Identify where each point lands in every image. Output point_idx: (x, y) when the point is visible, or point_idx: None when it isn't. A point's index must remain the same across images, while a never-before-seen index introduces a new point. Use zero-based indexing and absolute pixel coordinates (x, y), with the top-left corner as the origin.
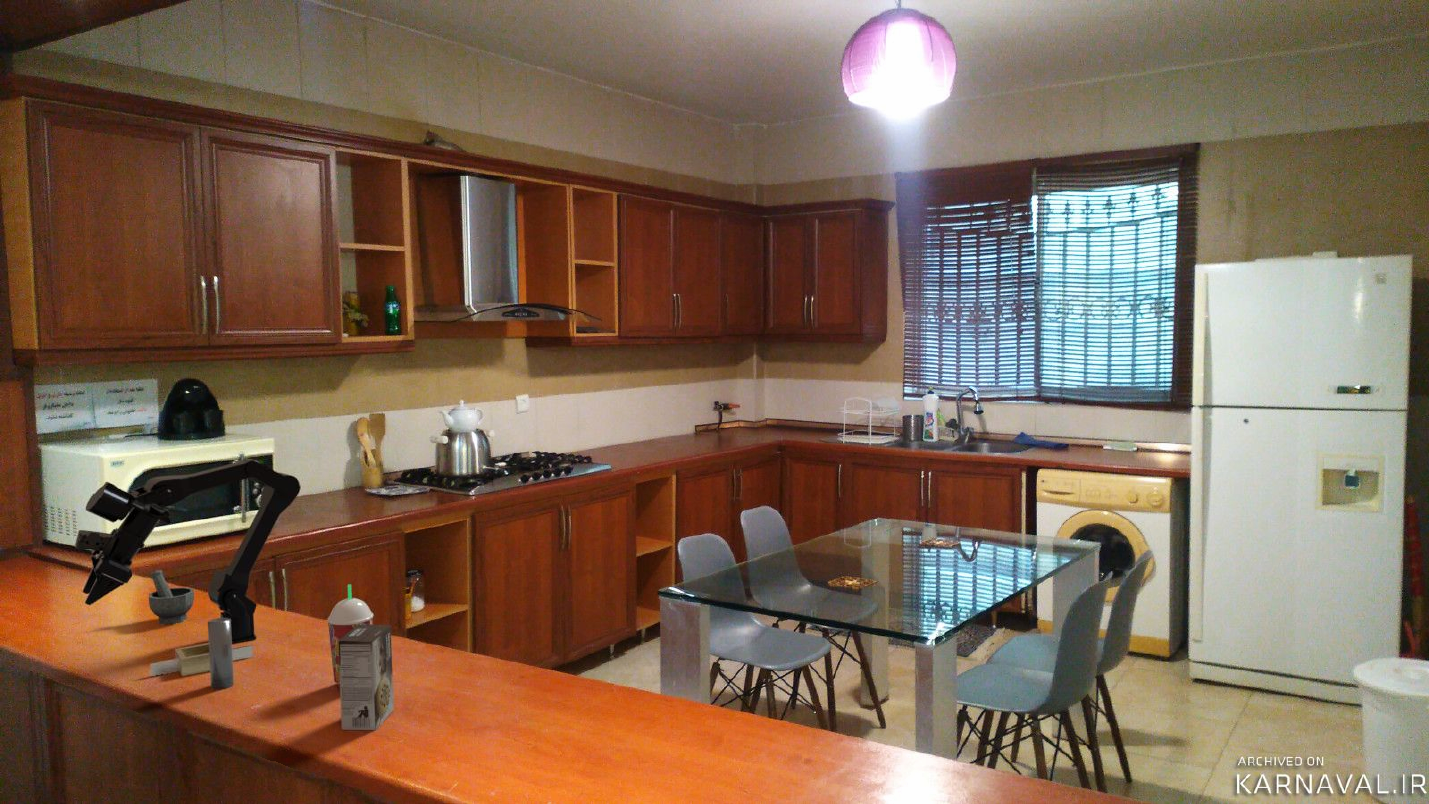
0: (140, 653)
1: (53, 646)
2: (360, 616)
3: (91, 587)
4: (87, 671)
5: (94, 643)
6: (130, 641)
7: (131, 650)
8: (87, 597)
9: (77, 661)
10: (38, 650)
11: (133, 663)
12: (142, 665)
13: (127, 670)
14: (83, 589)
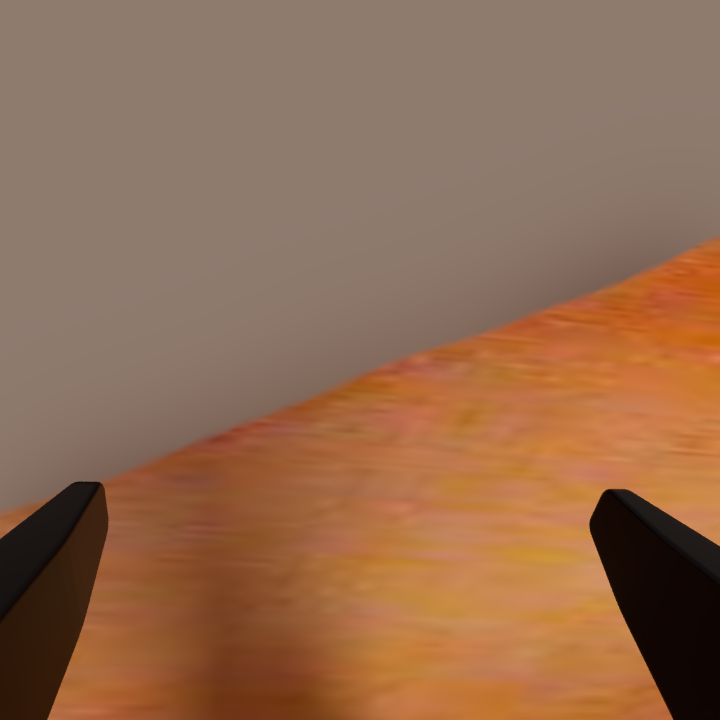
0: (386, 663)
1: (690, 353)
2: None
3: (637, 590)
4: (259, 437)
5: (646, 492)
6: (594, 629)
7: (458, 627)
8: (28, 526)
9: (435, 413)
10: (668, 303)
11: (245, 627)
12: (181, 665)
13: (147, 596)
14: (631, 502)
